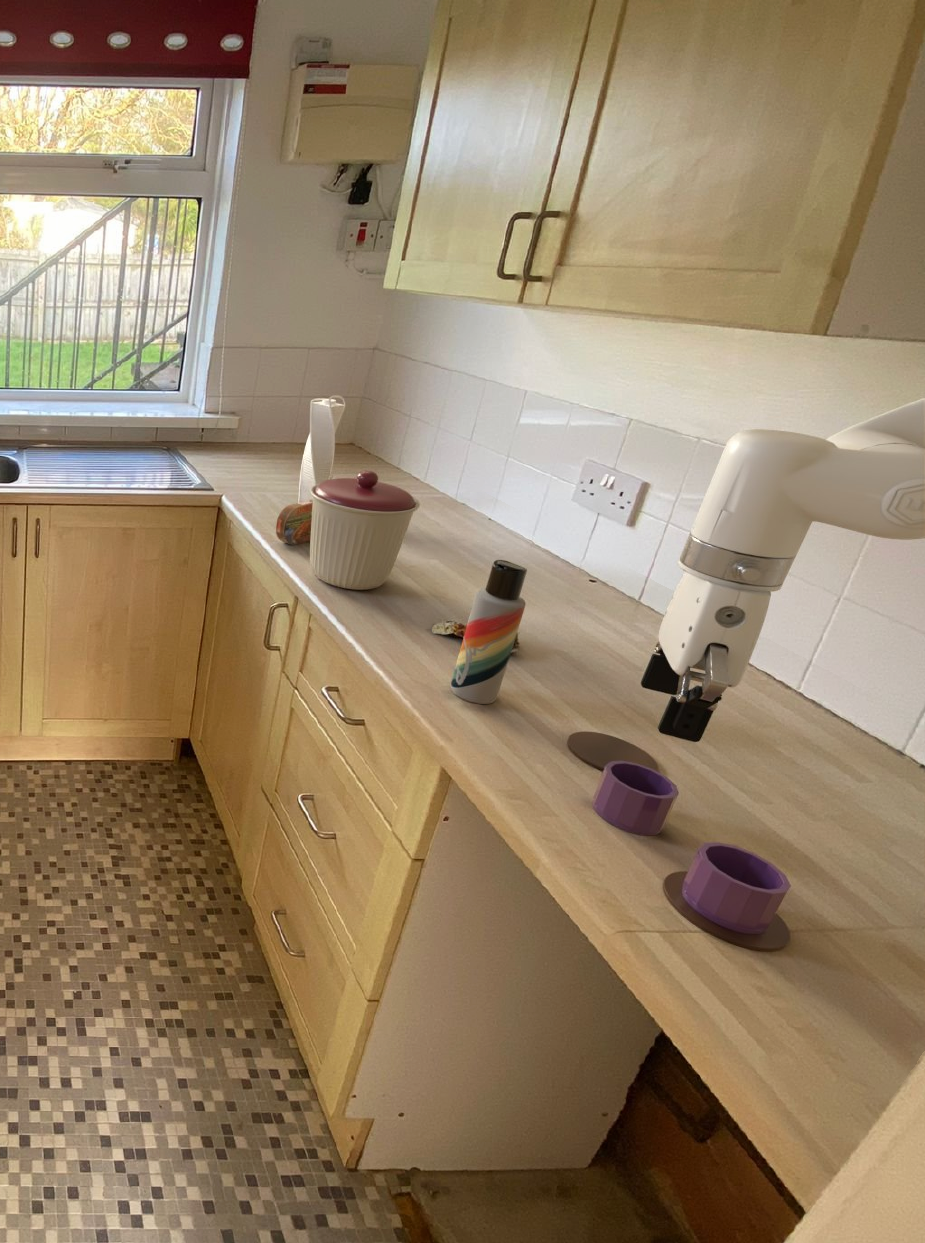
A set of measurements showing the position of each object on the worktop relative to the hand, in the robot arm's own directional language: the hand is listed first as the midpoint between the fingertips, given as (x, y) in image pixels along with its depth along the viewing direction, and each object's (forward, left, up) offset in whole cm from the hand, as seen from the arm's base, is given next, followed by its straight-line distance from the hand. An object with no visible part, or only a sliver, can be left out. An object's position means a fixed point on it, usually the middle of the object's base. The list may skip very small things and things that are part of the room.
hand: (667, 712), depth 79 cm
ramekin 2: (-6, +11, -13) cm, 18 cm away
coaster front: (-6, +11, -14) cm, 19 cm away
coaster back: (0, -13, -14) cm, 19 cm away
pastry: (+15, -38, -14) cm, 43 cm away
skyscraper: (+49, -91, -14) cm, 104 cm away
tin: (+47, -70, -14) cm, 86 cm away
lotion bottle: (+15, -20, -14) cm, 28 cm away
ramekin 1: (0, 0, -14) cm, 14 cm away
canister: (+36, -53, -14) cm, 65 cm away
